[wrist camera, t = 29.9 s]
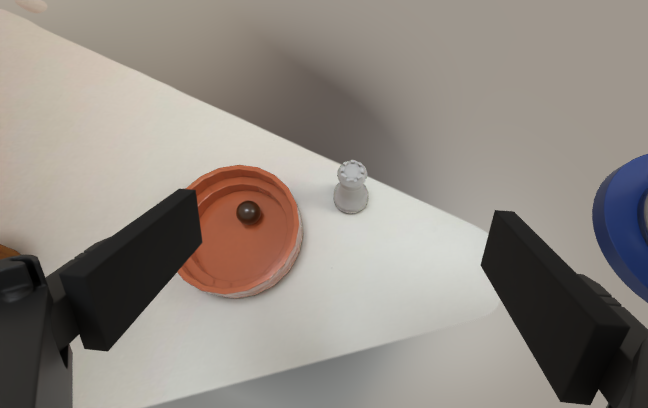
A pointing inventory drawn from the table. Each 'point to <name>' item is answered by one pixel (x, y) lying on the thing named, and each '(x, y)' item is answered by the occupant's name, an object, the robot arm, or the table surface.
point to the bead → (248, 212)
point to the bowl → (243, 233)
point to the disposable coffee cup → (7, 252)
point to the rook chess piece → (351, 187)
